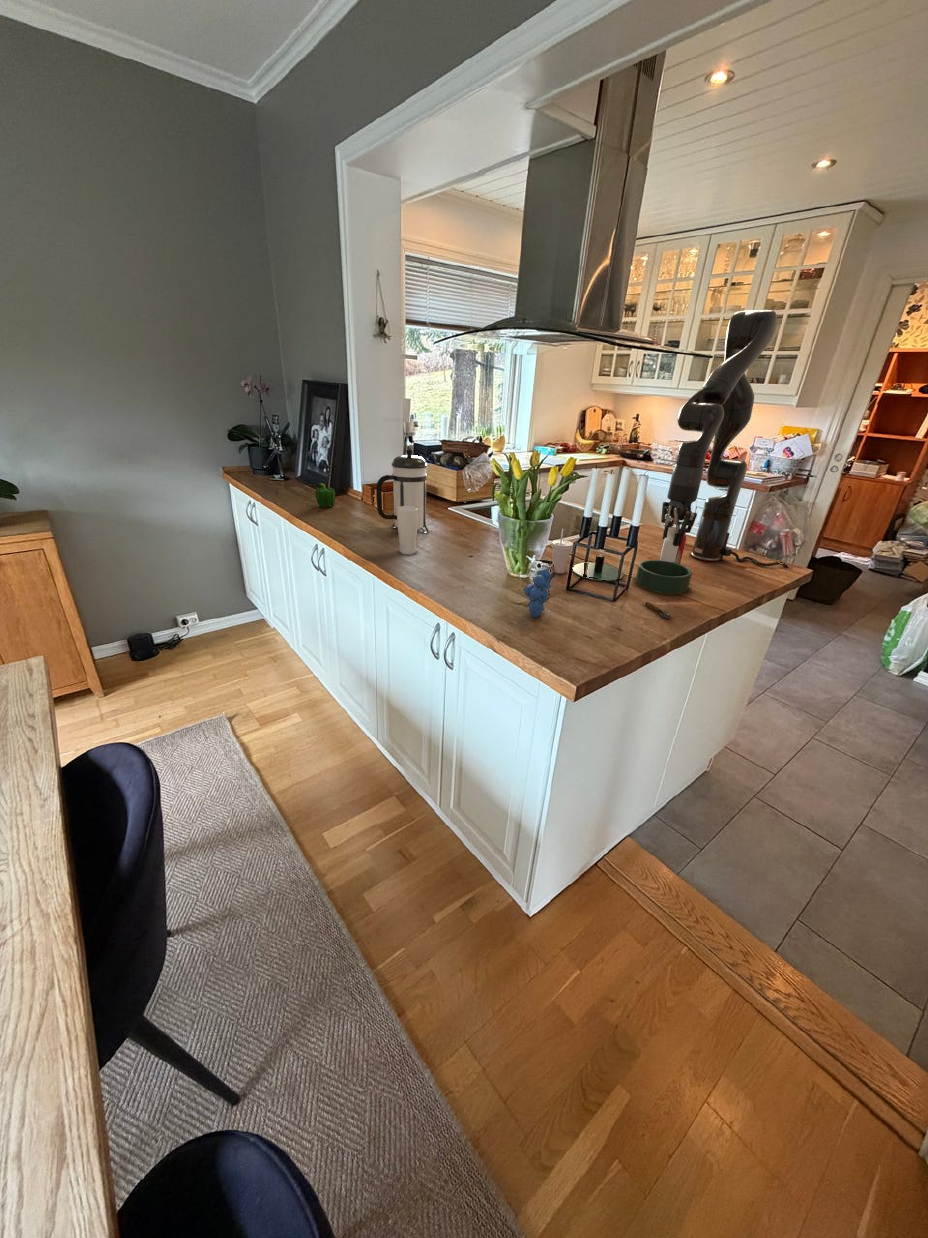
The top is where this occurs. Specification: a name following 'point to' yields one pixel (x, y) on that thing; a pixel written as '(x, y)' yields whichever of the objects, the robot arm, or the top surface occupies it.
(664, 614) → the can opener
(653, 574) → the pot
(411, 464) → the coffee press
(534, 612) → the grapes
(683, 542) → the beverage can
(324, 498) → the bell pepper
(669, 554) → the salt shaker
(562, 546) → the smoothie
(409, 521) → the drinking glass
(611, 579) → the lid
